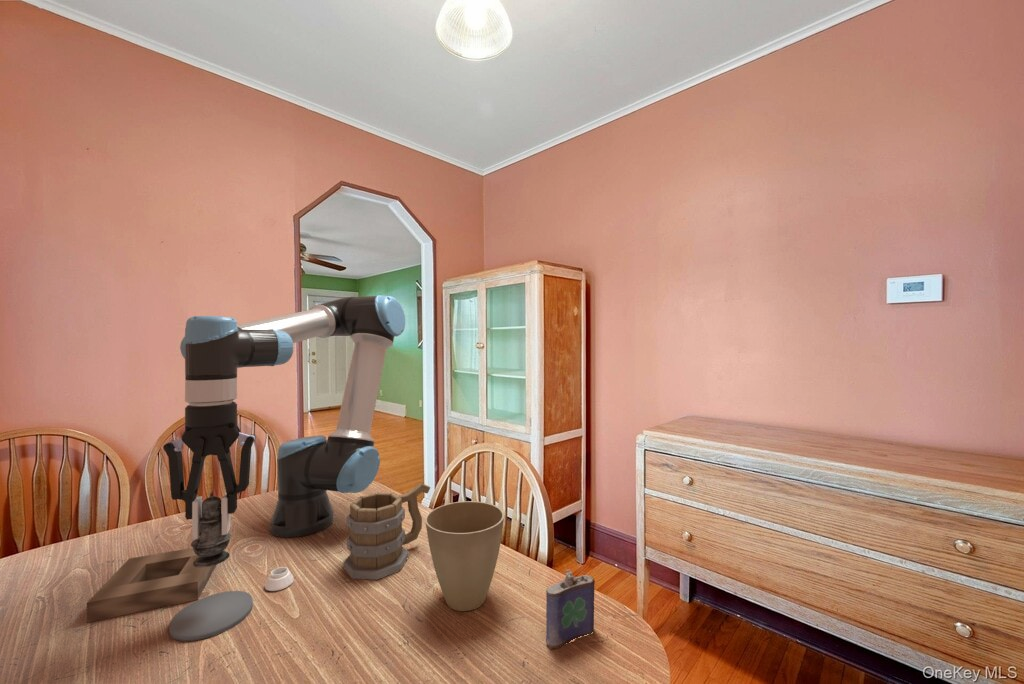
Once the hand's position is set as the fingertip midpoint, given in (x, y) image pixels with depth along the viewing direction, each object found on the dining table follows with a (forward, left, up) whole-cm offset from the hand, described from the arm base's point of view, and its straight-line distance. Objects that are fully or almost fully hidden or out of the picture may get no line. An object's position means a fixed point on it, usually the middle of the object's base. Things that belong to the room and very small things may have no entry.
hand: (211, 533), depth 73 cm
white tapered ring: (-10, -7, -15) cm, 19 cm away
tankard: (-32, -8, -15) cm, 36 cm away
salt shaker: (0, 0, -5) cm, 5 cm away
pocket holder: (+12, -15, -15) cm, 24 cm away
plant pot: (-43, +13, -15) cm, 47 cm away
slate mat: (0, 0, -15) cm, 15 cm away
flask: (-56, +29, -15) cm, 65 cm away
